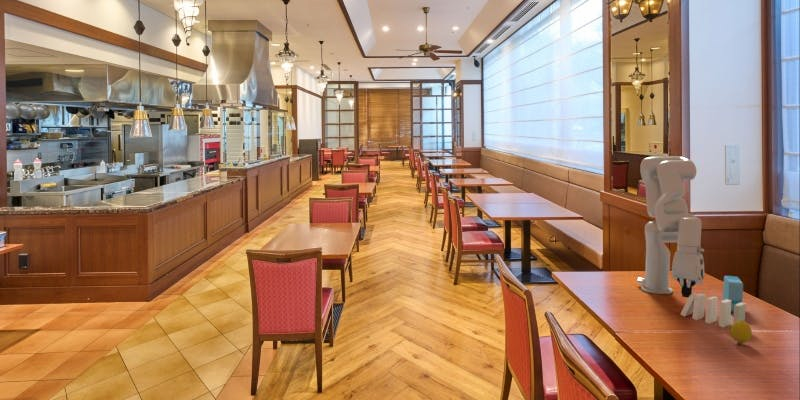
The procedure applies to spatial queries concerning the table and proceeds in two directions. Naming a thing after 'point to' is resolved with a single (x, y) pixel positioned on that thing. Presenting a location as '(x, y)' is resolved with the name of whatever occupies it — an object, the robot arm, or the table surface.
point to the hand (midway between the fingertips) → (686, 296)
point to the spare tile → (739, 312)
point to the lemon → (741, 332)
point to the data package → (732, 290)
